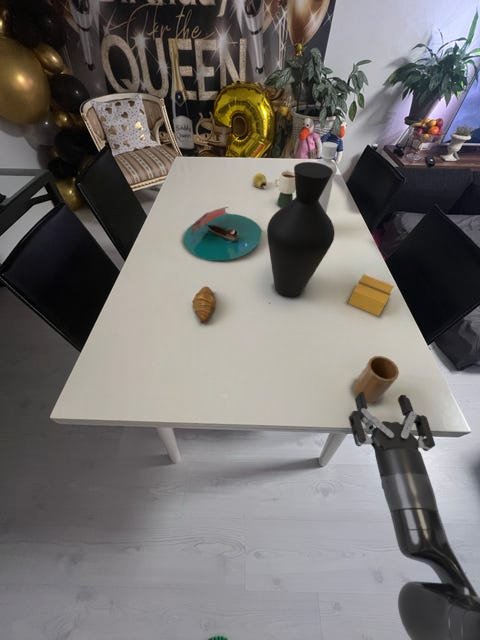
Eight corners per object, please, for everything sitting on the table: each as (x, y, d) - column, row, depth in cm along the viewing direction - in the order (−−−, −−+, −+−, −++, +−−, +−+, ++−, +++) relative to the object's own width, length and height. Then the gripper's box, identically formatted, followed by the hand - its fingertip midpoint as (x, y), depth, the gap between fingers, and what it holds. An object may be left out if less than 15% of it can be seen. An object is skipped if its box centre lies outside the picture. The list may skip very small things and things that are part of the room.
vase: (328, 291, 91) (369, 173, 65) (290, 317, 83) (319, 195, 57) (286, 263, 99) (308, 149, 73) (249, 285, 91) (257, 166, 65)
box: (387, 298, 90) (394, 285, 86) (378, 316, 85) (386, 303, 81) (357, 286, 93) (363, 273, 89) (347, 303, 88) (353, 290, 84)
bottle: (310, 223, 117) (330, 137, 94) (326, 234, 112) (351, 147, 89) (292, 229, 113) (308, 142, 91) (308, 241, 108) (329, 152, 86)
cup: (383, 388, 69) (401, 364, 62) (375, 408, 66) (394, 386, 58) (358, 375, 71) (373, 351, 64) (349, 394, 68) (364, 371, 60)
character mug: (297, 203, 127) (303, 171, 118) (297, 211, 123) (303, 179, 113) (272, 200, 128) (275, 169, 118) (270, 208, 123) (274, 176, 114)
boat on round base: (215, 210, 121) (212, 183, 112) (275, 230, 110) (276, 201, 101) (168, 247, 107) (160, 219, 98) (232, 274, 96) (229, 245, 87)
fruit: (261, 193, 132) (247, 182, 136) (270, 193, 136) (256, 182, 140) (266, 180, 129) (252, 169, 133) (275, 181, 132) (261, 170, 136)
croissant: (194, 290, 89) (193, 278, 85) (217, 291, 89) (216, 278, 86) (190, 325, 80) (188, 312, 76) (215, 325, 80) (215, 312, 77)
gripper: (460, 478, 48) (424, 388, 59) (371, 472, 48) (351, 383, 59) (435, 489, 53) (406, 405, 64) (356, 484, 54) (340, 400, 64)
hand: (380, 394), depth 62 cm, fingers open, 8 cm apart
